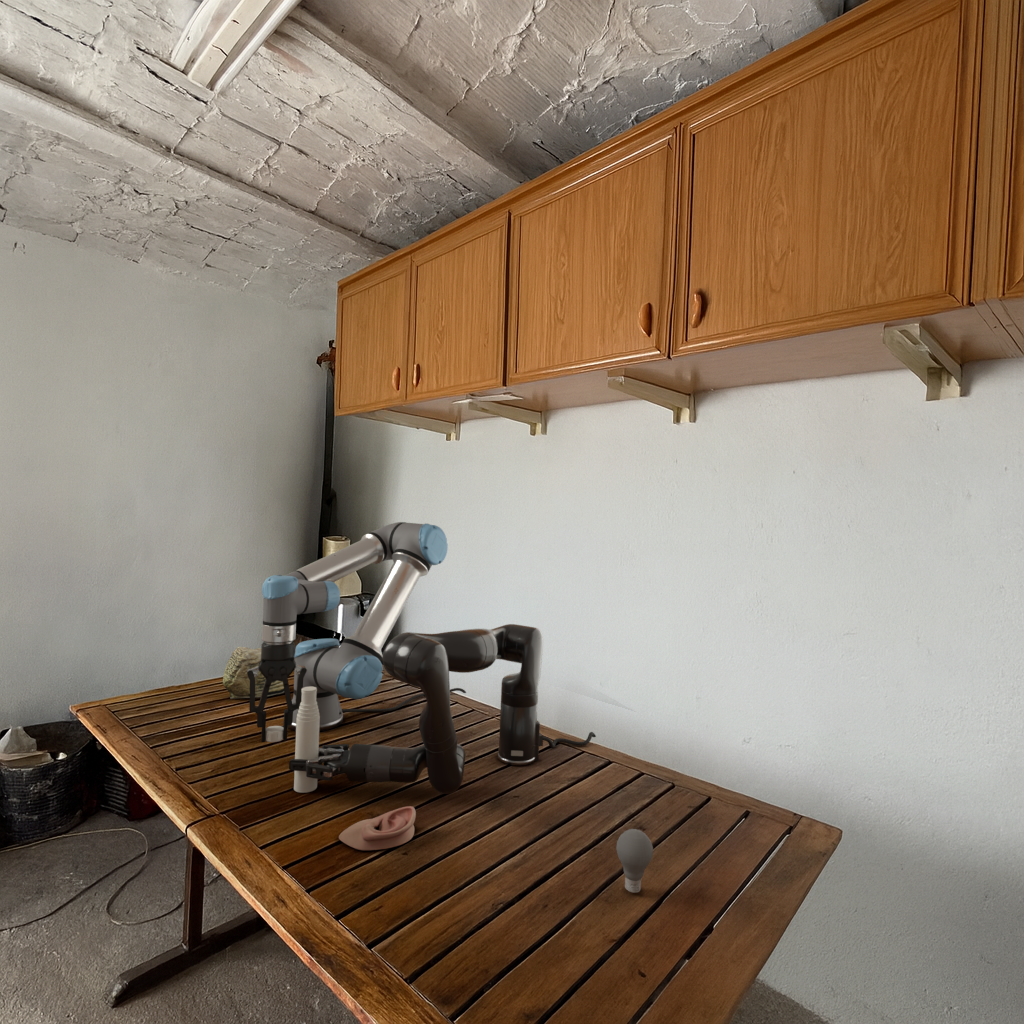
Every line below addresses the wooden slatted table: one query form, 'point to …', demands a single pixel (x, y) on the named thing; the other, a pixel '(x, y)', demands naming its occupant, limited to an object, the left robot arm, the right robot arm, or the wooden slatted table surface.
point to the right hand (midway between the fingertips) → (294, 759)
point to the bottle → (307, 738)
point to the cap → (274, 733)
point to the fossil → (238, 677)
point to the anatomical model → (381, 830)
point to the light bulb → (634, 857)
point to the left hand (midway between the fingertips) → (274, 739)
